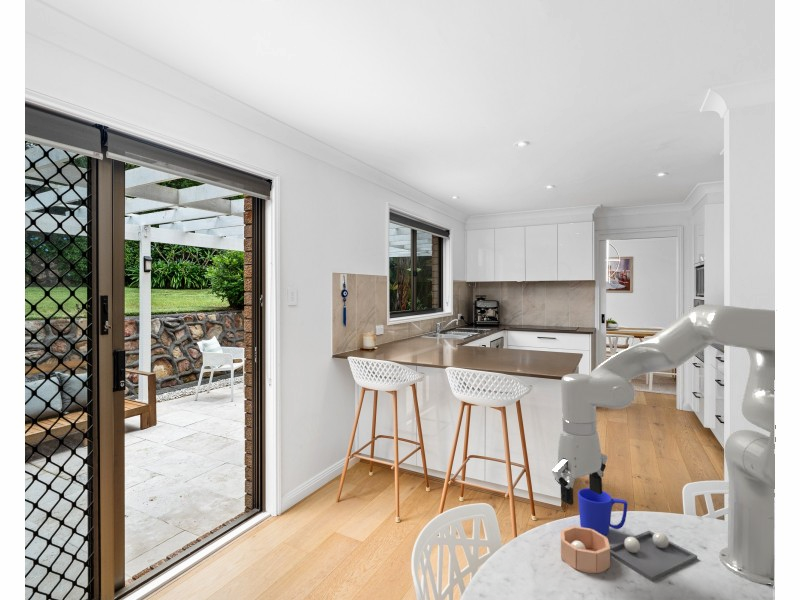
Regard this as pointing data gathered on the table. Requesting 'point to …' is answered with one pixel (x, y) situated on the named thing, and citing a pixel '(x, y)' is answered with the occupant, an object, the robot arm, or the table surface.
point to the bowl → (589, 559)
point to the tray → (652, 557)
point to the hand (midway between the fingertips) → (581, 497)
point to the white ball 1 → (578, 545)
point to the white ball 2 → (632, 544)
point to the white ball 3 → (660, 540)
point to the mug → (598, 510)
